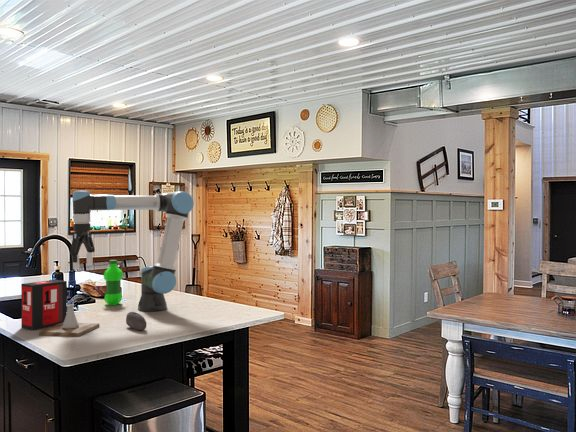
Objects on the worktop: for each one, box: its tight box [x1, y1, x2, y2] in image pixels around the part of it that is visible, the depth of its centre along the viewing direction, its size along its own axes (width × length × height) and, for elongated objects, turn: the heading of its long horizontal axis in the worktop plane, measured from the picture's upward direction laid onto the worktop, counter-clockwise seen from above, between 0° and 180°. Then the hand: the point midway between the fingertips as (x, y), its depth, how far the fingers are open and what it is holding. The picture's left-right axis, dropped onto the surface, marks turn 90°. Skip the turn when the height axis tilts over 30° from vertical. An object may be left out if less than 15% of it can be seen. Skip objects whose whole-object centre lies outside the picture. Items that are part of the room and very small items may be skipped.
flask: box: [62, 303, 79, 329], centre depth 222 cm, size 7×7×10 cm
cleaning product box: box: [20, 279, 68, 331], centre depth 231 cm, size 16×9×20 cm, turn 148°
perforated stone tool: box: [125, 311, 147, 332], centre depth 226 cm, size 15×5×7 cm, turn 41°
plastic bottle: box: [103, 259, 124, 306], centre depth 285 cm, size 10×10×25 cm
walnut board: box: [38, 322, 100, 337], centre depth 222 cm, size 18×18×2 cm
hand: (83, 267), depth 240 cm, fingers open, 13 cm apart
